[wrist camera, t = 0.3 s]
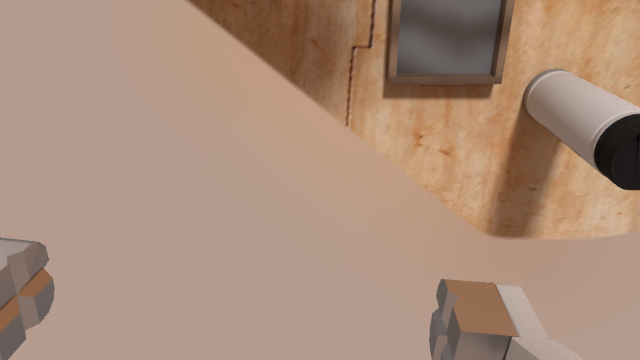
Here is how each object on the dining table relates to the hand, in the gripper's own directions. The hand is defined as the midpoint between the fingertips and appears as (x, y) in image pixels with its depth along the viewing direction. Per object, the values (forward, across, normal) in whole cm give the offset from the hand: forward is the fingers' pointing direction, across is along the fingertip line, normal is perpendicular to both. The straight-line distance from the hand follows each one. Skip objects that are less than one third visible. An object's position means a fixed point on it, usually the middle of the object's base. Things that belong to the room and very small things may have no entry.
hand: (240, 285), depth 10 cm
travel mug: (+49, -26, +6) cm, 56 cm away
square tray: (+48, -13, -1) cm, 50 cm away
